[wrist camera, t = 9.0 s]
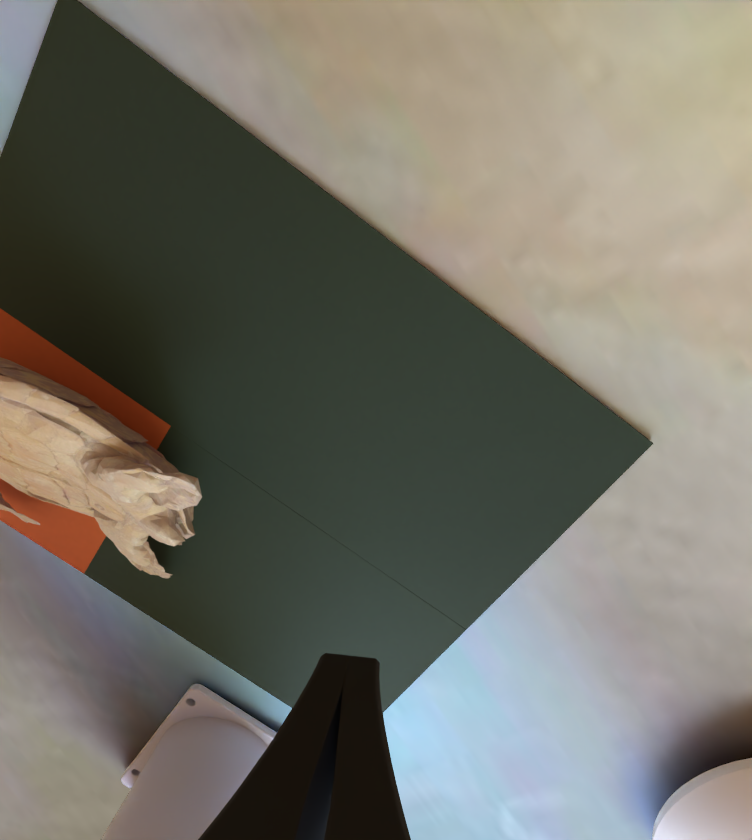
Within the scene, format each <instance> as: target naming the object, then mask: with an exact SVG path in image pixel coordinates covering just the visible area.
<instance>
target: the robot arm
mask: <svg viewBox="0 0 752 840" xmlns="http://www.w3.org/2000/svg"><path fill="white" fill-rule="evenodd" d="M379 672H380V662H379V661H378V660H377V659H376V658H368V657H359V656H349V655H340V654H331V653H325V654H323V655H322V656H321V657H320V659H319V661H318V663H317V666H316V668H315V670H314V671H313V673H312V675H311V677H310V679H309V681H308V683H307V685H306V686H305V688H304V690H303V692H302V693H301V695H300V697H299V698H298V700H297V702H296V704H295V705H294V707H293V708H292V710H291V712H290V713H289V715H288V716H287V718H286V719H285V721H284V723H283V724H282V726H281V727H280V729H279V730H278V732H275V731H274V730H272V729H271V728H269V727H267V726H266V725H264V724H263V723H261V722H260V721H258V720H256V719H255V718H253V717H252V716H250V715H249V714H247V713H245V712H244V711H242V710H241V709H239V708H238V707H236V706H234V705H233V704H231V703H230V702H228V701H227V700H225V699H223V698H222V697H220V696H219V695H217V694H216V693H214V692H212V691H211V690H209V689H208V688H206V687H205V686H203V685H201V684H193V685H192V686H191V687H190V688H189V689H188V690H187V692H186V693H185V694H184V696H183V697H182V698H181V700H180V701H179V702H178V703H177V705H176V706H175V707H174V709H173V710H172V711H171V712H170V714H169V715H168V716H167V718H166V719H165V720H164V722H163V723H162V724H161V725H160V727H159V728H158V729H157V731H156V732H155V733H154V734H153V736H152V737H151V738H150V740H149V741H148V742H147V744H146V745H145V746H144V747H143V749H142V750H141V751H140V753H139V754H138V755H137V756H136V758H135V759H134V760H133V762H132V763H131V764H130V766H129V767H128V768H127V769H126V771H125V772H124V774H123V775H122V777H121V781H122V783H123V784H124V785H125V786H127V787H128V788H130V789H131V790H130V791H129V793H128V795H127V797H126V798H125V800H124V802H123V803H122V805H121V807H120V808H119V810H118V812H117V813H116V815H115V817H114V818H113V820H112V822H111V823H110V825H109V827H108V828H107V830H106V832H105V833H104V835H103V837H102V838H101V840H411V839H410V835H409V832H408V828H407V824H406V821H405V817H404V813H403V809H402V805H401V801H400V797H399V793H398V789H397V785H396V781H395V776H394V772H393V767H392V763H391V758H390V753H389V747H388V742H387V737H386V732H385V726H384V720H383V712H382V704H381V695H380V681H379Z"/></svg>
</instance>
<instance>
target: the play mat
mask: <svg viewBox="0 0 752 840" xmlns="http://www.w3.org/2000/svg"><path fill="white" fill-rule="evenodd" d="M0 357H1V358H4V359H8V360H10V361H12V362H14V363H17V364H19V365H21V366H23V367H25V368H27V369H30V370H32V371H34V372H36V373H39V374H41V375H43V376H45V377H47V378H49V379H51V380H53V381H55V382H56V383H59V384H61V385H63V386H65V387H67V388H69V389H71V390H73V391H75V392H77V393H79V394H81V395H83V396H85V397H87V398H88V399H90V400H91V401H93V402H94V403H95V404H97V405H98V406H99V407H100V408H101V409H103V410H105V411H106V412H108V413H110V414H112V415H113V416H114V417H116V418H117V419H118V420H119V421H120V422H121V423H122V424H123V425H125V426H127V427H128V428H130V429H132V430H133V431H135V432H137V433H139V434H140V435H142V436H143V437H144V438H145V439H147V440H148V441H146V443H147V444H149V445H150V446H152V447H153V448H154V449H156V450H157V451H159V452H160V453H161V454H162V455H163V456H164V457H165V459H166V460H167V461H168V462H169V463H171V464H172V465H174V466H175V467H176V468H177V469H178V471H179V472H181V473H184V474H187V475H190V476H193V477H196V478H198V481H199V485H200V490H201V494H202V498H201V500H200V501H199V503H198V504H197V505H196V506H194V512H193V521H192V525H193V528H194V532H195V535H193V536H191V537H189V538H187V539H185V538H184V537H183V538H184V540H185V541H183V542H182V545H176V546H171V545H167V544H165V543H162V542H159V541H157V540H155V539H154V538H152V537H151V536H150V535H149V536H148V539H147V540H146V541H147V542H149V547H150V549H151V550H152V551H153V553H154V554H155V557H156V559H157V561H158V564H159V565H160V566H162V567H163V568H164V570H165V573H168V574H173V575H171V576H170V578H162V577H160V576H158V575H150V574H149V573H147V572H145V571H143V570H141V571H140V570H139V569H138V568H136V567H135V566H134V565H133V564H132V563H131V562H130V561H129V560H128V558H127V557H126V556H124V555H123V554H122V553H121V552H120V551H119V550H118V548H117V547H116V546H115V544H114V543H113V541H111V540H110V539H109V538H108V537H107V536H106V535H105V534H104V533H103V531H102V530H101V529H100V527H99V524H98V522H97V521H96V519H95V518H94V517H91V516H88V515H85V514H82V513H79V512H76V511H73V510H70V509H67V508H64V507H61V506H58V505H55V504H52V503H49V502H44V501H42V500H39V499H37V498H34V497H31V496H29V495H27V494H25V493H23V492H21V491H19V490H18V489H16V488H15V487H13V486H12V485H11V484H9V483H8V482H6V481H4V480H2V479H1V478H0V492H1V494H2V498H3V499H4V500H5V501H6V502H7V503H9V504H10V505H11V507H12V508H13V509H14V510H15V511H16V512H17V513H21V514H24V515H25V516H27V517H29V518H31V519H33V520H35V521H37V522H38V523H40V525H37V524H32V523H30V522H28V523H26V522H24V521H23V520H21V519H20V518H19V517H18V516H16V515H14V514H13V513H11V512H10V511H5V510H0V520H1V521H3V522H4V523H6V524H7V525H9V526H10V527H12V528H14V529H15V530H17V531H18V532H20V533H21V534H23V535H24V536H26V537H28V538H29V539H31V540H32V541H34V542H35V543H37V544H38V545H40V546H42V547H43V548H45V549H46V550H48V551H49V552H51V553H52V554H54V555H56V556H57V557H59V558H60V559H62V560H63V561H65V562H66V563H68V564H69V565H71V566H73V567H74V568H76V569H77V570H79V571H80V572H82V573H83V574H85V575H87V576H88V577H90V578H91V579H93V580H94V581H96V582H97V583H99V584H101V585H102V586H104V587H105V588H107V589H108V590H110V591H111V592H113V593H115V594H116V595H118V596H119V597H121V598H122V599H124V600H125V601H127V602H128V603H130V604H132V605H133V606H135V607H136V608H138V609H139V610H141V611H142V612H144V613H146V614H147V615H149V616H150V617H152V618H153V619H155V620H156V621H158V622H160V623H161V624H163V625H164V626H166V627H167V628H169V629H170V630H172V631H174V632H175V633H177V634H178V635H180V636H181V637H183V638H184V639H186V640H187V641H189V642H191V643H192V644H194V645H195V646H197V647H198V648H200V649H201V650H203V651H205V652H206V653H208V654H209V655H211V656H212V657H214V658H215V659H217V660H219V661H220V662H222V663H223V664H225V665H226V666H228V667H229V668H231V669H233V670H234V671H236V672H237V673H239V674H240V675H242V676H243V677H245V678H246V679H248V680H250V681H251V682H253V683H254V684H256V685H257V686H259V687H260V688H262V689H264V690H265V691H267V692H268V693H270V694H271V695H273V696H274V697H276V698H278V699H279V700H281V701H282V702H284V703H285V704H287V705H288V706H290V707H292V708H293V707H294V705H295V704H296V702H297V700H298V698H299V697H300V695H301V693H302V692H303V690H304V688H305V686H306V685H307V683H308V681H309V679H310V677H311V675H312V673H313V671H314V670H315V668H316V666H317V663H318V661H319V659H320V657H321V656H322V655H323V654H325V653H331V654H340V655H349V656H359V657H368V658H376V659H377V660H378V661H379V662H380V672H379V681H380V695H381V704H382V712H384V711H385V710H386V709H387V708H388V707H389V706H390V705H391V704H392V703H393V702H394V701H395V700H396V699H397V698H398V697H399V696H400V695H401V694H402V693H403V692H404V691H405V690H406V689H407V688H408V687H409V686H410V685H411V684H412V683H413V682H414V681H415V680H416V679H417V678H418V677H419V676H420V675H421V674H422V673H423V672H424V671H425V670H426V669H427V668H428V667H429V666H430V665H431V664H432V663H433V662H434V661H435V660H436V659H437V658H438V657H439V656H440V655H441V654H442V653H443V652H444V651H445V650H446V649H447V648H448V647H449V646H450V645H451V644H452V643H453V642H454V641H455V640H456V639H457V638H458V637H459V636H460V635H461V634H462V633H463V632H464V631H465V630H466V629H467V628H468V627H469V626H470V625H471V624H472V623H473V622H474V621H475V620H476V619H477V618H478V617H479V616H480V615H481V614H482V613H483V612H484V611H485V610H486V609H487V608H488V607H489V606H490V605H491V604H492V603H493V602H494V601H495V600H496V599H498V598H499V597H500V596H501V595H502V594H503V593H504V592H505V591H506V590H507V589H508V588H509V587H510V586H511V585H512V584H513V583H514V582H515V581H516V580H517V579H518V578H519V577H520V576H521V575H522V574H523V573H524V572H525V571H526V570H527V569H528V568H529V567H530V566H531V565H532V564H533V563H534V562H535V561H536V560H537V559H538V558H539V557H540V556H541V555H542V554H543V553H544V552H545V551H546V550H547V549H548V548H549V547H550V546H551V545H552V544H553V543H554V542H555V541H556V540H557V539H558V538H559V537H560V536H561V535H562V534H563V533H564V532H565V531H566V530H567V529H568V528H569V527H570V526H571V525H572V524H573V523H574V522H575V521H576V520H577V519H578V518H579V517H580V516H581V515H582V514H583V513H584V512H585V511H586V510H587V509H588V508H589V507H590V506H591V505H592V504H593V503H594V502H595V501H596V500H597V499H598V498H599V497H600V496H601V495H602V494H603V493H604V492H605V491H606V490H607V489H608V488H609V487H610V486H611V485H612V484H613V483H614V482H615V481H616V480H617V479H618V478H619V477H620V476H621V475H622V474H623V473H624V472H625V471H626V470H627V469H628V468H629V467H630V466H631V465H632V464H633V463H634V462H635V461H636V460H637V459H638V458H639V457H640V456H641V455H642V454H643V453H644V452H645V451H646V450H647V449H648V448H649V447H650V446H651V445H652V444H653V443H652V442H651V441H650V440H648V439H647V438H646V437H644V436H643V435H642V434H641V433H639V432H638V431H637V430H635V429H634V428H633V427H631V426H630V425H629V424H628V423H626V422H625V421H624V420H622V419H621V418H620V417H618V416H617V415H616V414H615V413H613V412H612V411H611V410H609V409H608V408H607V407H605V406H604V405H603V404H602V403H600V402H599V401H598V400H596V399H595V398H594V397H592V396H591V395H590V394H588V393H587V392H586V391H585V390H583V389H582V388H581V387H579V386H578V385H577V384H575V383H574V382H573V381H572V380H570V379H569V378H568V377H566V376H565V375H564V374H562V373H561V372H560V371H559V370H557V369H556V368H555V367H553V366H552V365H551V364H549V363H548V362H547V361H546V360H544V359H543V358H542V357H540V356H539V355H538V354H536V353H535V352H534V351H533V350H531V349H530V348H529V347H527V346H526V345H525V344H523V343H522V342H521V341H520V340H518V339H517V338H516V337H514V336H513V335H512V334H510V333H509V332H508V331H507V330H505V329H504V328H503V327H501V326H500V325H499V324H497V323H496V322H495V321H494V320H492V319H491V318H490V317H488V316H487V315H486V314H484V313H483V312H482V311H480V310H479V309H478V308H477V307H475V306H474V305H473V304H471V303H470V302H469V301H467V300H466V299H465V298H464V297H462V296H461V295H460V294H458V293H457V292H456V291H454V290H453V289H452V288H451V287H449V286H448V285H447V284H445V283H444V282H443V281H441V280H440V279H439V278H438V277H436V276H435V275H434V274H432V273H431V272H430V271H428V270H427V269H426V268H425V267H423V266H422V265H421V264H419V263H418V262H417V261H415V260H414V259H413V258H412V257H410V256H409V255H408V254H406V253H405V252H404V251H402V250H401V249H400V248H399V247H397V246H396V245H395V244H393V243H392V242H391V241H389V240H388V239H387V238H386V237H384V236H383V235H382V234H380V233H379V232H378V231H376V230H375V229H374V228H372V227H371V226H370V225H369V224H367V223H366V222H365V221H363V220H362V219H361V218H359V217H358V216H357V215H356V214H354V213H353V212H352V211H350V210H349V209H348V208H346V207H345V206H344V205H343V204H341V203H340V202H339V201H337V200H336V199H335V198H333V197H332V196H331V195H330V194H328V193H327V192H326V191H324V190H323V189H322V188H320V187H319V186H318V185H317V184H315V183H314V182H313V181H311V180H310V179H309V178H307V177H306V176H305V175H304V174H302V173H301V172H300V171H298V170H297V169H296V168H294V167H293V166H292V165H291V164H289V163H288V162H287V161H285V160H284V159H283V158H281V157H280V156H279V155H278V154H276V153H275V152H274V151H272V150H271V149H270V148H268V147H267V146H266V145H264V144H263V143H262V142H261V141H259V140H258V139H257V138H255V137H254V136H253V135H251V134H250V133H249V132H248V131H246V130H245V129H244V128H242V127H241V126H240V125H238V124H237V123H236V122H235V121H233V120H232V119H231V118H229V117H228V116H227V115H225V114H224V113H223V112H222V111H220V110H219V109H218V108H216V107H215V106H214V105H212V104H211V103H210V102H209V101H207V100H206V99H205V98H203V97H202V96H201V95H199V94H198V93H197V92H196V91H194V90H193V89H192V88H190V87H189V86H188V85H186V84H185V83H184V82H183V81H181V80H180V79H179V78H177V77H176V76H175V75H173V74H172V73H171V72H169V71H168V70H167V69H166V68H164V67H163V66H162V65H160V64H159V63H158V62H156V61H155V60H154V59H153V58H151V57H150V56H149V55H147V54H146V53H145V52H143V51H142V50H141V49H140V48H138V47H137V46H136V45H134V44H133V43H132V42H130V41H129V40H128V39H127V38H125V37H124V36H123V35H121V34H120V33H119V32H117V31H116V30H115V29H114V28H112V27H111V26H110V25H108V24H107V23H106V22H104V21H103V20H102V19H101V18H99V17H98V16H97V15H95V14H94V13H93V12H91V11H90V10H89V9H88V8H86V7H85V6H84V5H82V4H81V3H80V2H78V1H77V0H58V1H57V4H56V6H55V9H54V12H53V14H52V17H51V20H50V23H49V25H48V28H47V31H46V34H45V36H44V39H43V42H42V45H41V47H40V50H39V53H38V56H37V58H36V61H35V64H34V67H33V69H32V72H31V75H30V78H29V80H28V83H27V86H26V89H25V91H24V94H23V97H22V100H21V102H20V105H19V108H18V111H17V113H16V116H15V119H14V121H13V124H12V127H11V130H10V132H9V135H8V138H7V141H6V143H5V146H4V149H3V152H2V154H1V157H0Z"/></svg>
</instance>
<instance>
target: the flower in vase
mask: <svg viewBox="0 0 752 840" xmlns="http://www.w3.org/2000/svg"><path fill="white" fill-rule="evenodd" d="M652 840H752V758H749V759H744V760H739V761H734V762H731V763H727V764H724V765H721V766H718V767H716V768H713V769H711V770H708V771H706V772H704V773H702V774H700V775H698V776H697V777H695V778H693V779H691V780H690V781H688V782H687V783H685V784H684V785H683V786H681V787H680V788H679V789H678V790H677V791H676V792H674V793H673V794H672V795H671V797H670V798H669V799H668V800H667V801H666V802H665V804H664V805H663V807H662V808H661V810H660V811H659V813H658V815H657V818H656V820H655V823H654V828H653V833H652Z"/></svg>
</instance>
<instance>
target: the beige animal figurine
mask: <svg viewBox="0 0 752 840" xmlns="http://www.w3.org/2000/svg"><path fill="white" fill-rule="evenodd" d="M146 441H148V440H147V439H145V438H144V437H143V436H142V435H140V434H139V433H137V432H135V431H133V430H132V429H130V428H128V427H127V426H125V425H123V424H122V423H121V422H120V421H119V420H118V419H117V418H116V417H114V416H113V415H112V414H110V413H108V412H106V411H105V410H103V409H101V408H100V407H99V406H98V405H97V404H95V403H94V402H93V401H91V400H90V399H88V398H87V397H85V396H83V395H81V394H79V393H77V392H75V391H73V390H71V389H69V388H67V387H65V386H63V385H61V384H59V383H56V382H55V381H53V380H51V379H49V378H47V377H45V376H43V375H41V374H39V373H36V372H34V371H32V370H30V369H27V368H25V367H23V366H21V365H19V364H17V363H14V362H12V361H10V360H8V359H4V358H1V357H0V478H1V479H2V480H4V481H6V482H8V483H9V484H11V485H12V486H13V487H15V488H16V489H18V490H19V491H21V492H23V493H25V494H27V495H29V496H31V497H34V498H37V499H39V500H42V501H44V502H49V503H52V504H55V505H58V506H61V507H64V508H67V509H70V510H73V511H76V512H79V513H82V514H85V515H88V516H91V517H94V518H95V519H96V521H97V522H98V524H99V527H100V529H101V530H102V531H103V533H104V534H105V535H106V536H107V537H108V538H109V539H110V540H111V541H113V543H114V544H115V546H116V547H117V548H118V550H119V551H120V552H121V553H122V554H123V555H124V556H126V557H127V558H128V560H129V561H130V562H131V563H132V564H133V565H134V566H135V567H136V568H138V569H139V570H140V571H141V570H143V571H145V572H147V573H149V574H150V575H158V576H160V577H162V578H170V576H171V575H173V574H168V573H165V570H164V568H163V567H162V566H160V565H159V564H158V561H157V559H156V557H155V554H154V553H153V551H152V550H151V549H150V547H149V542H147V541H146V540H147V539H148V536H149V535H150V536H151V537H152V538H154V539H155V540H157V541H159V542H162V543H165V544H167V545H171V546H176V545H182V542H183V541H185V540H184V538H185V539H187V538H189V537H191V536H193V535H195V532H194V528H193V525H192V521H193V512H194V506H196V505H197V504H198V503H199V501H200V500H201V498H202V494H201V490H200V485H199V481H198V478H196V477H193V476H190V475H187V474H184V473H181V472H179V471H178V469H177V468H176V467H175V466H174V465H172V464H171V463H169V462H168V461H167V460H166V459H165V457H164V456H163V455H162V454H161V453H160V452H159V451H157V450H156V449H154V448H153V447H152V446H150V445H149V444H147V443H146ZM0 510H5V511H10V512H11V513H13V514H14V515H16V516H18V517H19V518H20V519H21V520H23V521H24V522H26V523H28V522H30V523H32V524H37V525H40V523H38V522H37V521H35V520H33V519H31V518H29V517H27V516H25V515H24V514H21V513H17V512H16V511H15V510H14V509H13V508H12V507H11V505H10V504H9V503H7V502H6V501H5V500H4V499H3V498H2V494H1V492H0ZM183 537H184V538H183Z"/></svg>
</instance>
